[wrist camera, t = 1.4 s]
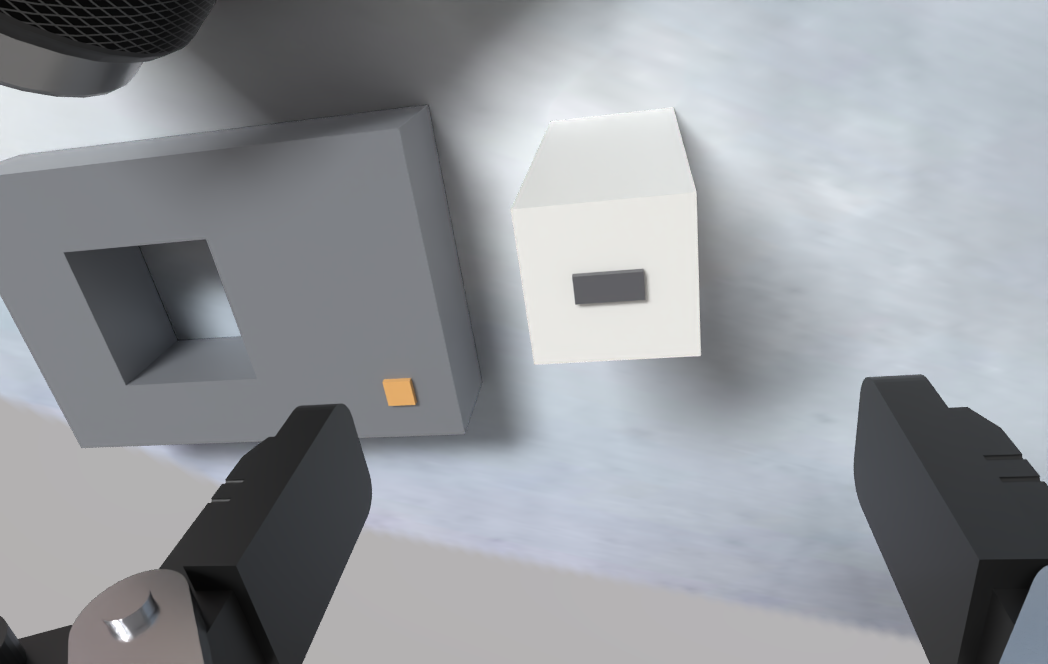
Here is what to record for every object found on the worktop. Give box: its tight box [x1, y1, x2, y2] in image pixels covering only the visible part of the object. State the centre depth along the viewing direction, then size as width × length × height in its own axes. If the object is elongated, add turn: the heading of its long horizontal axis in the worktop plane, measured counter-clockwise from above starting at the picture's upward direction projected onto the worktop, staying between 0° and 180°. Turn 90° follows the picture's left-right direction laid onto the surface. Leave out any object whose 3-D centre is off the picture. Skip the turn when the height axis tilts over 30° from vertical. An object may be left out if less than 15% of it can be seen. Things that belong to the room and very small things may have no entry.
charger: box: [511, 107, 701, 365], centre depth 20 cm, size 4×4×9 cm
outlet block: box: [0, 105, 482, 448], centre depth 26 cm, size 16×11×4 cm
